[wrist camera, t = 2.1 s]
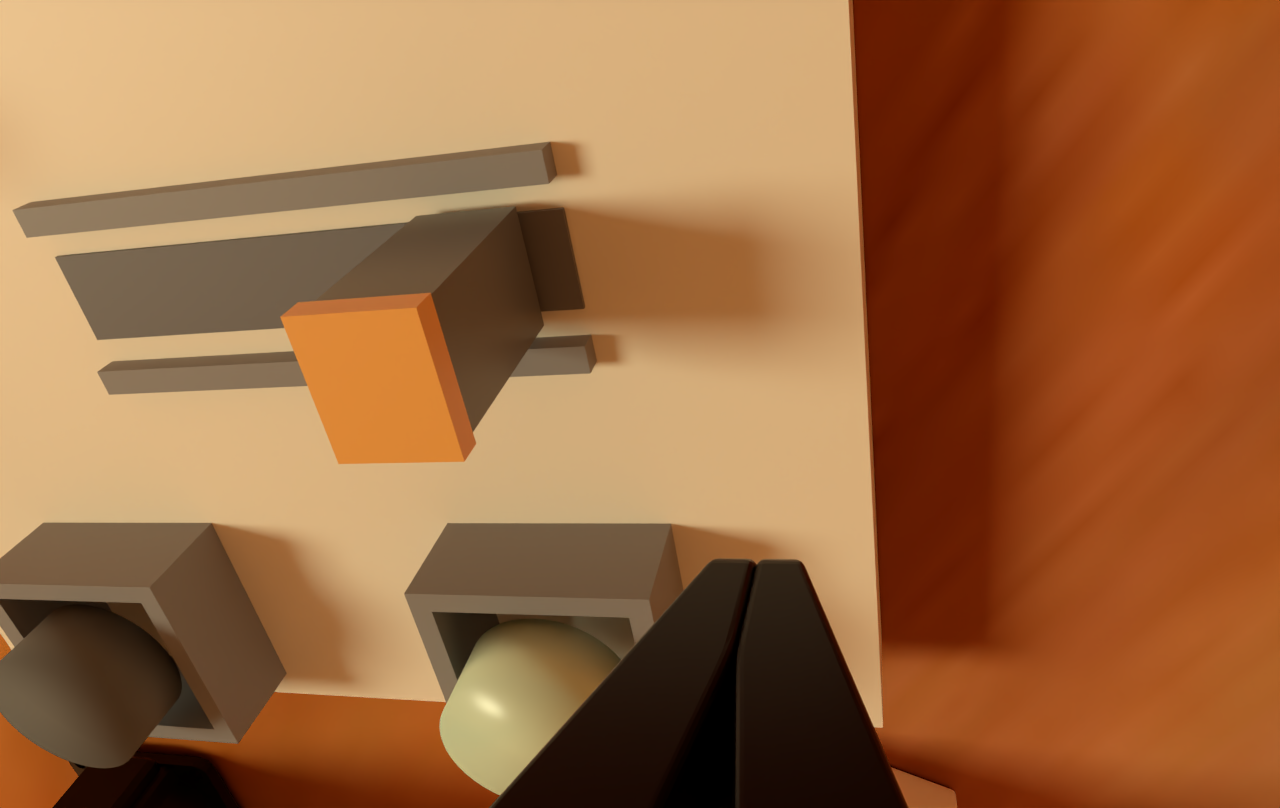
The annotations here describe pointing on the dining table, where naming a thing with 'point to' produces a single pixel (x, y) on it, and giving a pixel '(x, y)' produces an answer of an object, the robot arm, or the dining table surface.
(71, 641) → the grey dome
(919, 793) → the milk
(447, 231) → the slider
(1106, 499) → the dining table surface
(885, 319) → the dining table surface
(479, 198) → the console
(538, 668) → the pale yellow button
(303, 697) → the dining table surface
